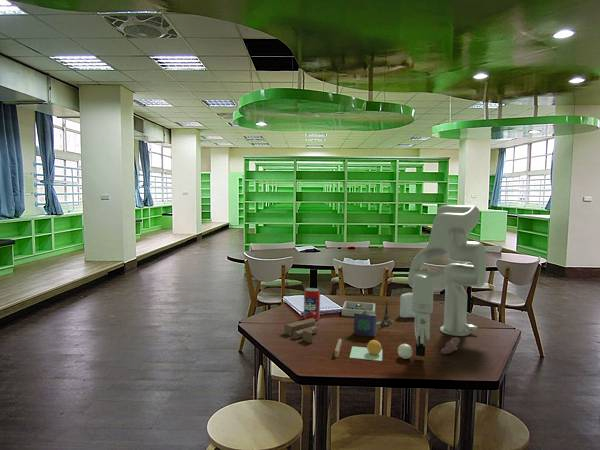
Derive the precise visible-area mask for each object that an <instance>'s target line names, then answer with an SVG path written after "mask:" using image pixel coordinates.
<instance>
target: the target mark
mask: <svg viewBox="0 0 600 450" xmlns="http://www.w3.org/2000/svg"><path fill="white" fill-rule="evenodd" d="M349 358H350V359H358V360H369V361H375V362H377V361H378V362H383V349H382V348H381V352H380V353H379V354H377V355H372V354H370V353H369V352H368V350H367V347H362V346H354V345H353V346H351V350H350V354H349Z"/></svg>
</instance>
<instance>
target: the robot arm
mask: <svg viewBox="0 0 600 450" xmlns="http://www.w3.org/2000/svg"><path fill="white" fill-rule="evenodd" d="M480 218H481V212H480V209H479V208H478V207H477V206H475V205H465V204H464V205H462V204H442V205H440V206H438V208H437V209H436V216H435V217H434V218H433V222H432V227H431V230H430V235H429V237H428V238H429V239H428V242H427V245H426V246H425V247H424V248H423V249H421V250H420V251H419V252H418V253H417V254H416V255H415V256H414V258H413V259H412V260H411V264H410V268H409V270H408V277H407V283H408V285H409V286H410V287H411V288H412V289H411V290H412V292H411V293H412V311H413V312H415V317H414V335H415V339H416V343H415V355H416V356H418V357H425V355H426V341H430V340H431V334H430V331H431V330H430V329H431V315H430V314H432V313H433V307H434V293H440V292H442V291H444V313H443V315H444V316H443V317H444V318H443V325H442V326H440V327H439V331H440V332H442V333H443V334H446V335H450V336H455V337H467V336H469V335H470V331H476V332H477V331H478V326H477V325H474V324H468V323H467V316H468V315H467V313H468V312H467V311H468V293H467V290H466V289H465V287H464V286H466V287H472V288H483V286H484V285H485V284H486V278H487V271H486V270H487V268H486V267H487V266H486V265H487V257H486V256H487V255H486V254H487V252H486V251H487V250H486V246H485V245H484V244H483V243H482V242H480V241H472V240H471V241H469V240H468V234H469V233H471V232H472V231H473V230H474V228H476V226H477V225H478V223H479V221H480ZM446 254H447V258H448V259H449V260H450V261H453V263H452V262H451V263H449V264H446V265H445V266H444V269H443V273H441V272H436V271H430V270H424V269H423V270H422V269H421V268H422V266H423V265H424V264H425V263H426V262H428V261H429V260H432V259H435V258H437V257H440V256H443V255H446ZM457 262H458V263H457ZM466 263H468V264H466ZM469 263H470V264H469Z"/></svg>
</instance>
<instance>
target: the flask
mask: <svg viewBox="0 0 600 450" xmlns="http://www.w3.org/2000/svg"><path fill="white" fill-rule="evenodd" d="M363 310H364V312H361V313H360V311H359V312H355V314H354V317H353V318H354V320H353V335H355V336H361V337H368V338H375V337H376V336H377V328H376V327H377V325H376V322H377V318H378V317H377V314H376V313H375V314H367V311H368V310H365V309H363Z"/></svg>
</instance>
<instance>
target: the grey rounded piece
mask: <svg viewBox="0 0 600 450" xmlns="http://www.w3.org/2000/svg"><path fill="white" fill-rule="evenodd" d="M355 307H356V310H363V309H362V305H361V304H356V306H355Z"/></svg>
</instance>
